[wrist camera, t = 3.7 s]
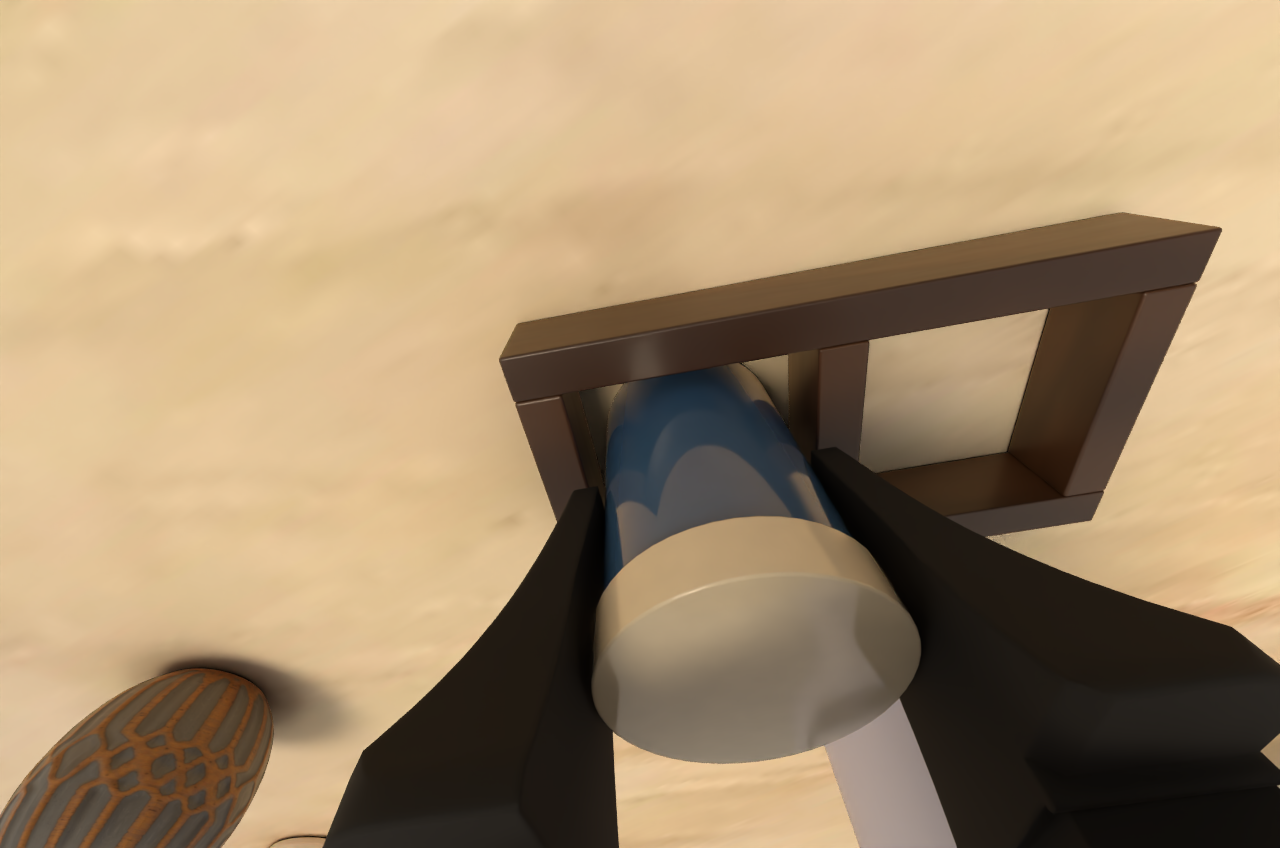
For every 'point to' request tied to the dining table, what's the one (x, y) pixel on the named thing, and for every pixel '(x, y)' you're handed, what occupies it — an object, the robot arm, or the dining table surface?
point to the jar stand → (892, 305)
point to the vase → (149, 769)
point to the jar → (733, 583)
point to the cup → (300, 843)
